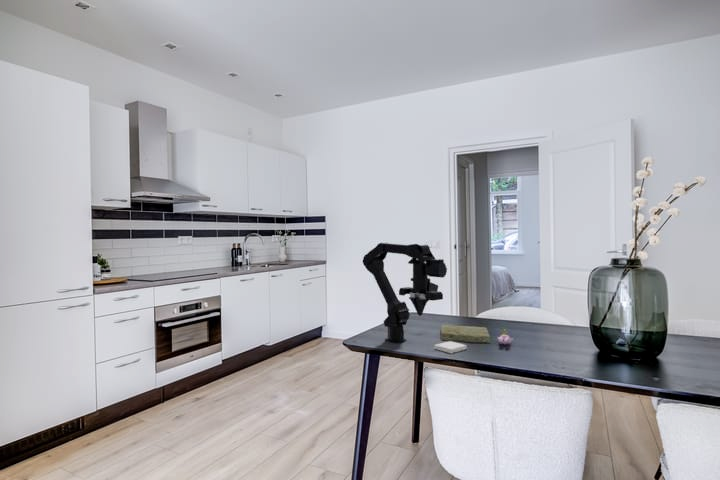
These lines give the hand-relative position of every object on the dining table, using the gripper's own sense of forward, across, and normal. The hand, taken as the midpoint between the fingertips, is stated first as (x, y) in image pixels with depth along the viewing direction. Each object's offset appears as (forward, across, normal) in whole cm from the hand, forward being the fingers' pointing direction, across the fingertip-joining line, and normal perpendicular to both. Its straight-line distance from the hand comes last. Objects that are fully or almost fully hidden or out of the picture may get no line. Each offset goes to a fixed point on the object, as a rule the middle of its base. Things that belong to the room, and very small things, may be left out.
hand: (420, 315), depth 161 cm
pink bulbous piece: (+12, -19, -29) cm, 36 cm away
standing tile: (+11, -6, -6) cm, 14 cm away
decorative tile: (+13, -1, -26) cm, 29 cm away
